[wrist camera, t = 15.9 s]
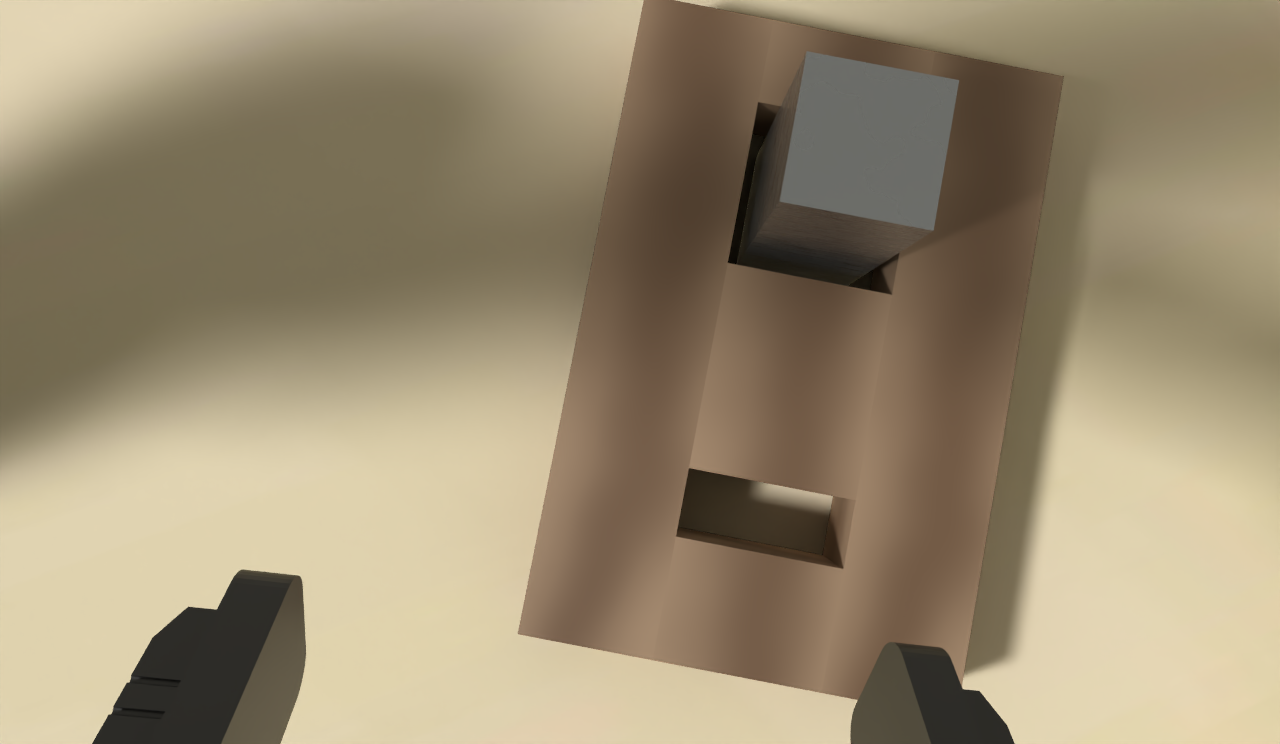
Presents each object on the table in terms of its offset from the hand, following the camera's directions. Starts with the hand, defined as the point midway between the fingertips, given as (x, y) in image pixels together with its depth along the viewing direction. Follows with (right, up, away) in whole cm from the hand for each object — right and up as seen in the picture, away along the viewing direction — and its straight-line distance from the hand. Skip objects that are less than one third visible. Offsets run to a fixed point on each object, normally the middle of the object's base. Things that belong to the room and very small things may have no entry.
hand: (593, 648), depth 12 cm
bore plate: (+6, +4, +19) cm, 20 cm away
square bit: (+6, +9, +19) cm, 22 cm away
